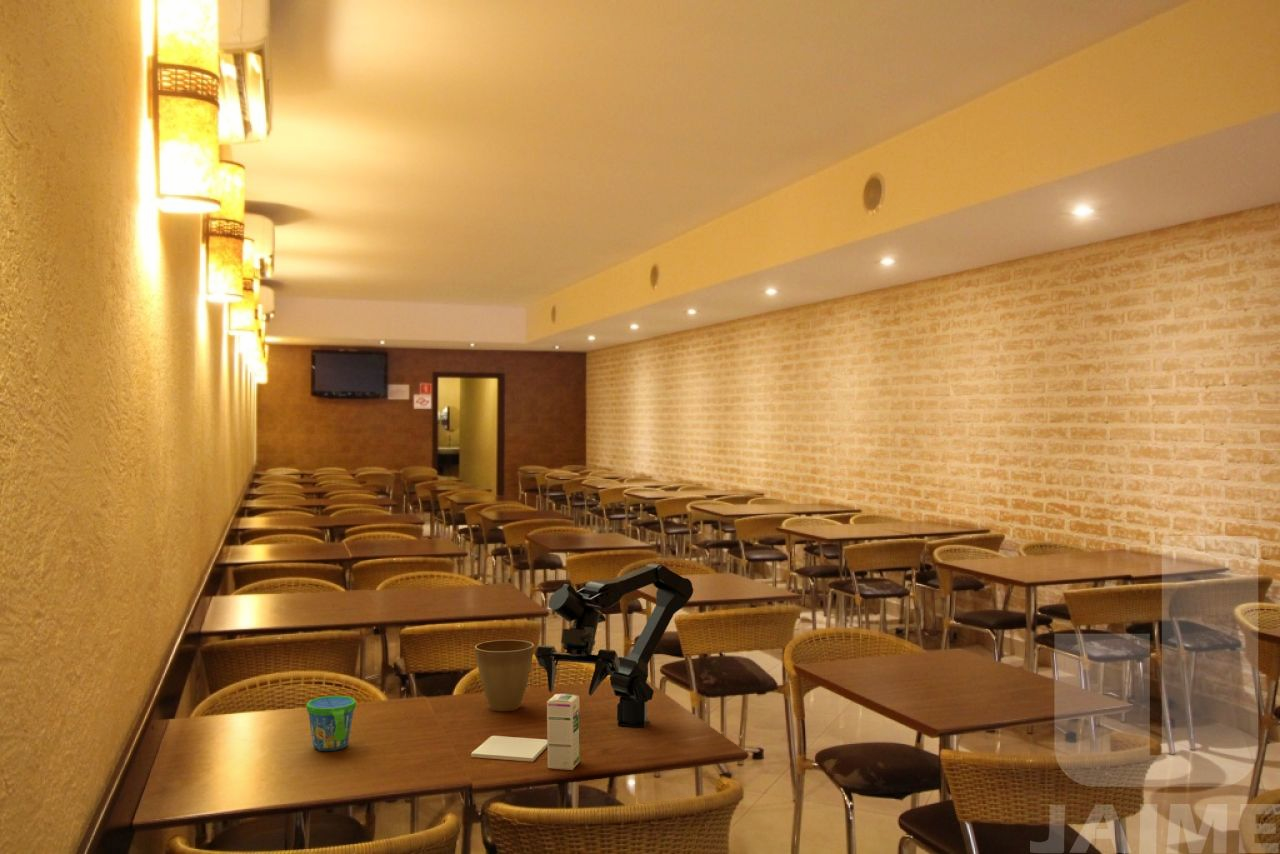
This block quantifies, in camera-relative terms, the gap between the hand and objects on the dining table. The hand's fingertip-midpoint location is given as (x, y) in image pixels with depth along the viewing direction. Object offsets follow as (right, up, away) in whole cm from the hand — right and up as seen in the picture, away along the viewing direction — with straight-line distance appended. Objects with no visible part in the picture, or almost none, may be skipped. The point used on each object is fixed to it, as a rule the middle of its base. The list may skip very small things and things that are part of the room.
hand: (569, 693), depth 228 cm
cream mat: (-13, -13, +1) cm, 18 cm away
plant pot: (-19, -13, +35) cm, 42 cm away
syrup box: (-1, -13, -9) cm, 16 cm away
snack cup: (-54, -13, +2) cm, 55 cm away
